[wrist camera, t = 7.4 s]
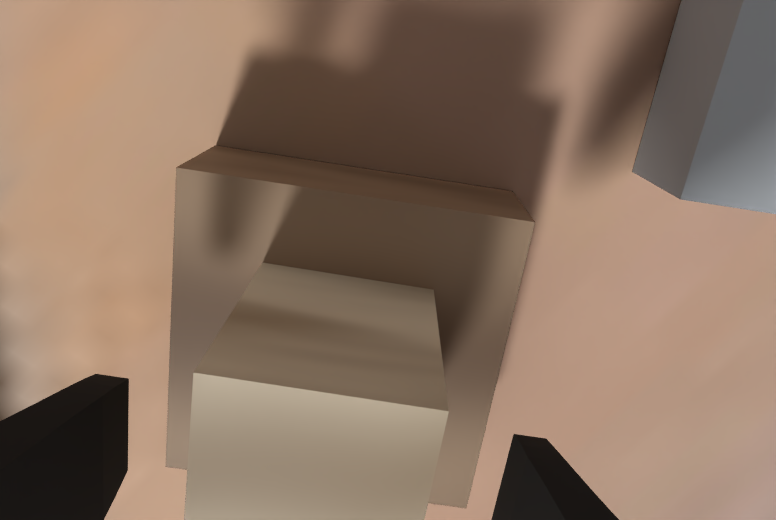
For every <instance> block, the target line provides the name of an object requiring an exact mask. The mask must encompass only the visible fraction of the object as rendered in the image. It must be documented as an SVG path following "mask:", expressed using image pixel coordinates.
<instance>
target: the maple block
mask: <svg viewBox="0 0 776 520" xmlns="http://www.w3.org/2000/svg"><path fill="white" fill-rule="evenodd" d="M448 413H449V408H448V400H447V392H446V384H445V376H444V368H443V360H442V352H441V344H440V336H439V328H438V320H437V312H436V304H435V296H434V290H432V289H426V288H419V287H413V286H407V285H401V284H394V283H388V282H382V281H375V280H369V279H363V278H356V277H350V276H344V275H338V274H331V273H325V272H319V271H312V270H306V269H300V268H293V267H287V266H281V265H275V264H268V263H262V264H261V266H260V268H259V269H258V271H257V272H256V274H255V275H254V277H253V279H252V280H251V282H250V283H249V285H248V287H247V288H246V290H245V291H244V293H243V295H242V296H241V298H240V299H239V301H238V303H237V304H236V306H235V307H234V309H233V310H232V312H231V314H230V315H229V317H228V318H227V320H226V322H225V323H224V325H223V326H222V328H221V330H220V331H219V333H218V334H217V336H216V337H215V339H214V341H213V342H212V344H211V345H210V347H209V349H208V350H207V352H206V353H205V355H204V357H203V358H202V360H201V361H200V363H199V364H198V366H197V368H196V369H195V371H194V372H193V387H192V403H191V419H190V435H189V451H188V467H187V483H186V498H185V514H184V520H424V519H425V514H426V510H427V506H428V501H429V497H430V492H431V488H432V484H433V479H434V475H435V470H436V466H437V462H438V457H439V453H440V448H441V444H442V440H443V435H444V431H445V426H446V422H447V418H448Z"/></svg>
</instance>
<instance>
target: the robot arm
mask: <svg viewBox="0 0 776 520" xmlns="http://www.w3.org/2000/svg"><path fill="white" fill-rule="evenodd" d="M128 392H129V379H127V378H120V377H113V376H106V375H99V374H94V375H92V376H90V377H88V378H85V379H83V380H81V381H79V382H77V383H75V384H73V385H71V386H69V387H67V388H65V389H63V390H61V391H59V392H57V393H55V394H53V395H51V396H49V397H47V398H45V399H43V400H41V401H40V402H38V403H36V404H34V405H32V406H30V407H28V408H26V409H24V410H22V411H20V412H18V413H16V414H14V415H12V416H10V417H8V418H6V419H4V420H2V421H0V520H104V518H105V516H106V514H107V512H108V510H109V508H110V506H111V504H112V502H113V500H114V498H115V496H116V494H117V492H118V490H119V488H120V485H121V483H122V481H123V479H124V477H125V475H126V473H127V471H128ZM492 520H619V519H618V518H617V517H616V516H615V515H614V514H613V513H612V512H611V511H610V510H609V509H608V508H607V506H606V505H605V504H604V503H603V502H602V501H601V500H600V499H599V498H598V497H597V495H596V494H595V493H594V492H593V491H592V490H591V489H590V488H589V486H588V485H587V484H586V483H585V482H584V481H583V480H582V479H581V477H580V476H579V475H578V474H577V473H576V472H575V471H574V469H573V468H572V467H571V466H570V465H569V464H568V463H567V461H566V460H565V459H564V458H563V457H562V456H561V455H560V453H559V452H558V451H557V450H556V449H555V448H554V447H553V446H552V445H551V443H550V442H549V441H548V440H547V439H545V438H538V437H531V436H524V435H517V434H514V435H513V439H512V443H511V447H510V451H509V454H508V458H507V462H506V466H505V470H504V474H503V478H502V482H501V485H500V489H499V493H498V497H497V501H496V505H495V509H494V512H493V516H492Z"/></svg>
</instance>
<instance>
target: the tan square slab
mask: <svg viewBox="0 0 776 520" xmlns="http://www.w3.org/2000/svg"><path fill="white" fill-rule="evenodd" d="M534 225H535V221H534V220H533V219H532V217H531V216H530V215H529V213H528V212H527V210H526V209H525V208H524V206H523V205H522V204H521V202H520V201H519V199H518V198H517V197H516V195H515V194H514V193H513V191H508V190H501V189H495V188H488V187H482V186H475V185H469V184H462V183H456V182H449V181H443V180H436V179H430V178H423V177H417V176H410V175H404V174H397V173H391V172H384V171H378V170H371V169H365V168H358V167H352V166H345V165H339V164H332V163H326V162H319V161H313V160H306V159H300V158H293V157H287V156H280V155H274V154H267V153H261V152H254V151H248V150H241V149H235V148H228V147H222V146H214V147H212V148H210V149H208V150H207V151H205V152H203V153H201V154H199V155H198V156H196V157H194V158H192V159H191V160H189V161H187V162H185V163H183V164H182V165H180V166H178V167H176V190H175V218H174V246H173V274H172V302H171V331H170V359H169V387H168V415H167V444H166V467H170V468H178V469H185V470H187V467H188V451H189V435H190V419H191V403H192V387H193V372H194V371H195V369H196V368H197V366H198V364H199V363H200V361H201V360H202V358H203V357H204V355H205V353H206V352H207V350H208V349H209V347H210V345H211V344H212V342H213V341H214V339H215V337H216V336H217V334H218V333H219V331H220V330H221V328H222V326H223V325H224V323H225V322H226V320H227V318H228V317H229V315H230V314H231V312H232V310H233V309H234V307H235V306H236V304H237V303H238V301H239V299H240V298H241V296H242V295H243V293H244V291H245V290H246V288H247V287H248V285H249V283H250V282H251V280H252V279H253V277H254V275H255V274H256V272H257V271H258V269H259V268H260V266H261V264H262V263H268V264H275V265H281V266H287V267H293V268H300V269H306V270H312V271H319V272H325V273H331V274H338V275H344V276H350V277H356V278H363V279H369V280H375V281H382V282H388V283H394V284H401V285H407V286H413V287H419V288H426V289H432V290H434V296H435V304H436V312H437V320H438V328H439V336H440V344H441V352H442V360H443V368H444V376H445V384H446V392H447V400H448V408H449V413H448V418H447V422H446V426H445V431H444V435H443V440H442V444H441V448H440V453H439V457H438V462H437V466H436V470H435V475H434V479H433V484H432V488H431V492H430V497H429V501H428V503H431V504H438V505H445V506H453V507H460V508H467V503H468V499H469V495H470V491H471V487H472V483H473V478H474V474H475V470H476V466H477V462H478V458H479V453H480V449H481V445H482V441H483V437H484V433H485V428H486V424H487V420H488V416H489V412H490V408H491V403H492V399H493V395H494V391H495V387H496V383H497V379H498V374H499V370H500V366H501V362H502V358H503V354H504V349H505V345H506V341H507V337H508V333H509V329H510V324H511V320H512V316H513V312H514V308H515V304H516V299H517V295H518V291H519V287H520V283H521V279H522V275H523V270H524V266H525V262H526V258H527V254H528V250H529V245H530V241H531V237H532V233H533V229H534Z"/></svg>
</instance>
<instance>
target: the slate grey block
mask: <svg viewBox="0 0 776 520" xmlns="http://www.w3.org/2000/svg"><path fill="white" fill-rule="evenodd" d="M632 172H633V173H635V174H637V175H639V176H640V177H642V178H644V179H646V180H647V181H649V182H651V183H653V184H654V185H656V186H658V187H660V188H661V189H663V190H665V191H667V192H668V193H670V194H672V195H674V196H675V197H677V198H679V199H682V200H688V201H695V202H701V203H708V204H714V205H720V206H727V207H733V208H740V209H746V210H753V211H759V212H766V213H772V214H776V0H681V4H680V7H679V11H678V14H677V18H676V21H675V24H674V28H673V31H672V35H671V38H670V42H669V45H668V49H667V52H666V56H665V59H664V63H663V66H662V70H661V73H660V77H659V80H658V84H657V87H656V91H655V94H654V98H653V101H652V105H651V108H650V112H649V115H648V118H647V122H646V125H645V129H644V132H643V136H642V139H641V143H640V146H639V150H638V153H637V157H636V160H635V164H634V167H633V171H632Z"/></svg>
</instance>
